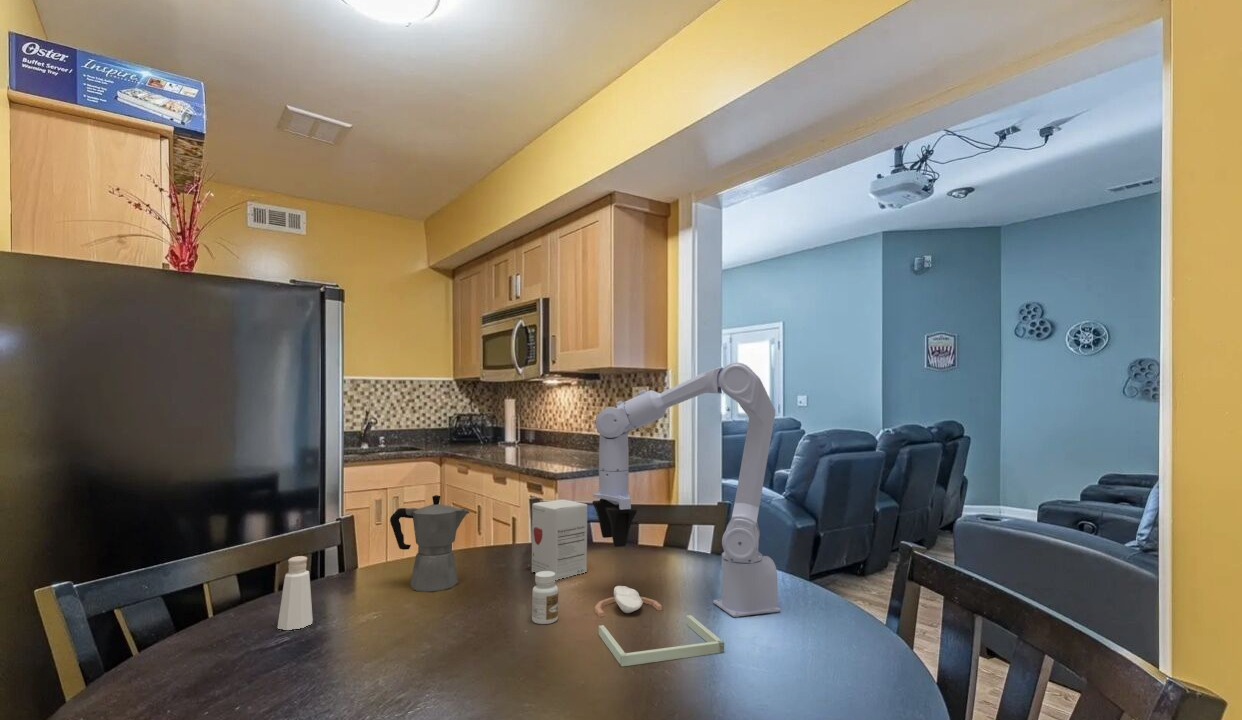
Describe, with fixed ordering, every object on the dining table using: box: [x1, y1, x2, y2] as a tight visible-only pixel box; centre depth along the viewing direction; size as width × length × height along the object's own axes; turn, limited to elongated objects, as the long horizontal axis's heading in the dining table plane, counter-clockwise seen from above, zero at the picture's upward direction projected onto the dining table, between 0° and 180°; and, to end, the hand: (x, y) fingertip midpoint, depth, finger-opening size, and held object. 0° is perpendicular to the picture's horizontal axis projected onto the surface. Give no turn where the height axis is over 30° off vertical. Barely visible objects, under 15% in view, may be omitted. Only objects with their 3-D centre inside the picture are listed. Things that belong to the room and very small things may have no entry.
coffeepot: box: [389, 495, 470, 593], centre depth 121 cm, size 15×9×18 cm, turn 102°
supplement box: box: [531, 498, 588, 581], centre depth 130 cm, size 9×9×15 cm
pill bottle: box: [531, 571, 559, 625], centre depth 101 cm, size 4×4×8 cm
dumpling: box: [613, 585, 644, 614], centre depth 106 cm, size 7×5×4 cm
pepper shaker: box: [276, 555, 313, 630], centre depth 99 cm, size 5×5×11 cm
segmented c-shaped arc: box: [594, 596, 663, 618], centre depth 108 cm, size 12×7×1 cm, turn 108°
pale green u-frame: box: [598, 614, 725, 667], centre depth 91 cm, size 16×12×1 cm
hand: (613, 541), depth 114 cm, fingers open, 7 cm apart
